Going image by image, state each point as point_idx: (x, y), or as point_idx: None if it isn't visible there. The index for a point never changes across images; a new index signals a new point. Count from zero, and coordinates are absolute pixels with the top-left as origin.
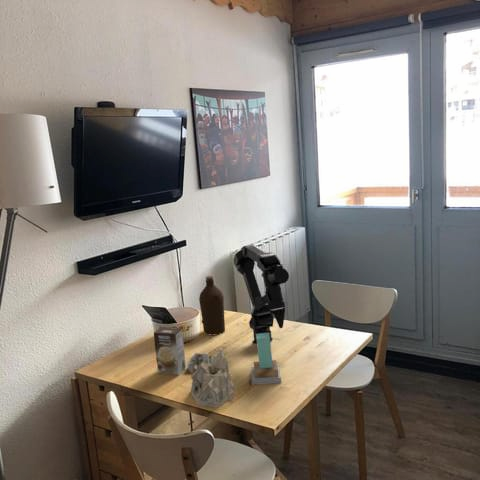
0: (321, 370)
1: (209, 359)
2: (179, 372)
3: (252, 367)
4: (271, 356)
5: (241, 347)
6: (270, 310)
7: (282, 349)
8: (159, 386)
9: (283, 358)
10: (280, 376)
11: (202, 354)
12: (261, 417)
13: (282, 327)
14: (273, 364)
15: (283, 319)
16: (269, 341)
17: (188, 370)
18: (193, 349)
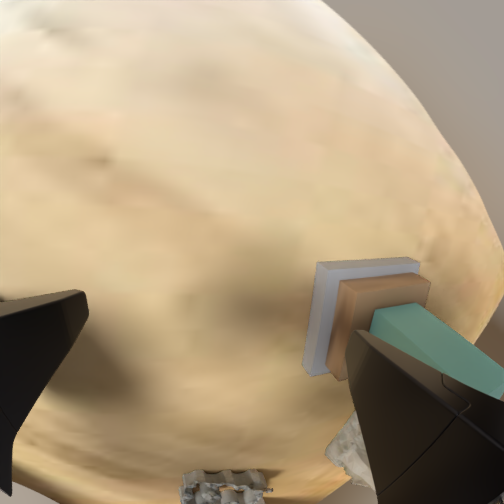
0: (364, 82)
1: (218, 484)
2: (261, 501)
3: (314, 371)
4: (447, 326)
5: (56, 406)
6: (9, 495)
7: (69, 234)
8: (304, 499)
9: (192, 234)
10: (414, 264)
11: (185, 501)
12: (491, 299)
13: (365, 332)
14: (391, 302)
15: (430, 370)
16: (496, 366)
17: (243, 493)
18: (96, 498)
